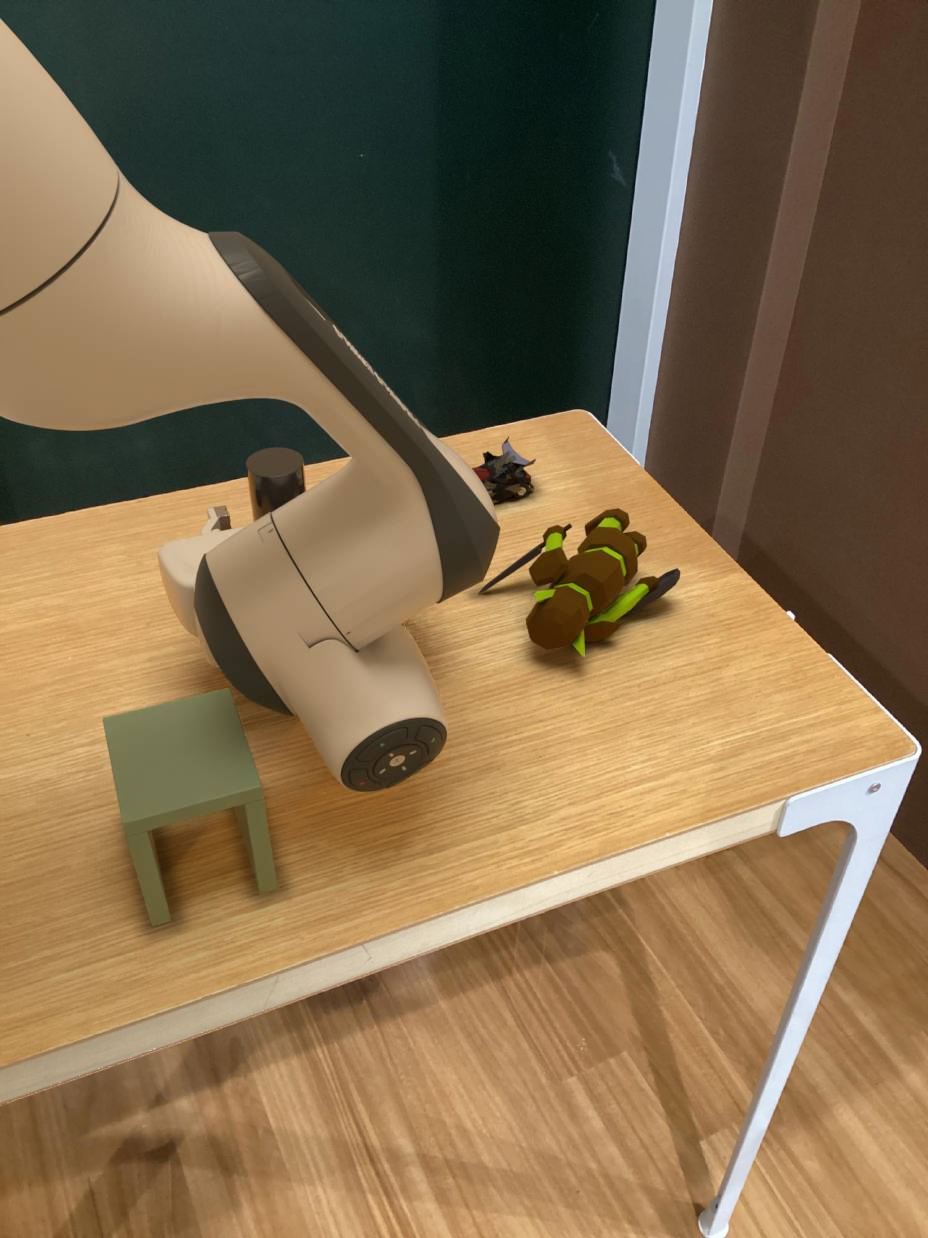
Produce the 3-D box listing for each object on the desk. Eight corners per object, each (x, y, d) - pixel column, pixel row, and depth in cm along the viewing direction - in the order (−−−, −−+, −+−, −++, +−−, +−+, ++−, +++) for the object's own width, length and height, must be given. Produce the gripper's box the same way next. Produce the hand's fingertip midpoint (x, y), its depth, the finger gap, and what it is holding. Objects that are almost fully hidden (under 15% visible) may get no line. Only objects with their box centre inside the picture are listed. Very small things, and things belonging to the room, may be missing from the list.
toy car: (540, 496, 105) (543, 460, 102) (432, 529, 100) (432, 492, 98) (508, 467, 109) (510, 431, 106) (403, 497, 104) (402, 461, 102)
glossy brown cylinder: (266, 586, 87) (253, 481, 80) (254, 556, 90) (240, 452, 83) (319, 574, 88) (309, 470, 82) (305, 545, 91) (295, 442, 85)
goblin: (498, 546, 98) (437, 629, 87) (618, 469, 90) (569, 549, 78) (566, 630, 101) (515, 722, 89) (689, 562, 92) (651, 654, 80)
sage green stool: (152, 927, 66) (122, 823, 60) (131, 821, 73) (101, 717, 66) (278, 889, 69) (262, 785, 62) (247, 790, 75) (229, 686, 69)
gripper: (462, 538, 76) (399, 445, 86) (172, 601, 70) (140, 492, 80) (460, 607, 80) (400, 510, 90) (186, 672, 74) (154, 560, 84)
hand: (276, 502), depth 85 cm, fingers open, 8 cm apart
